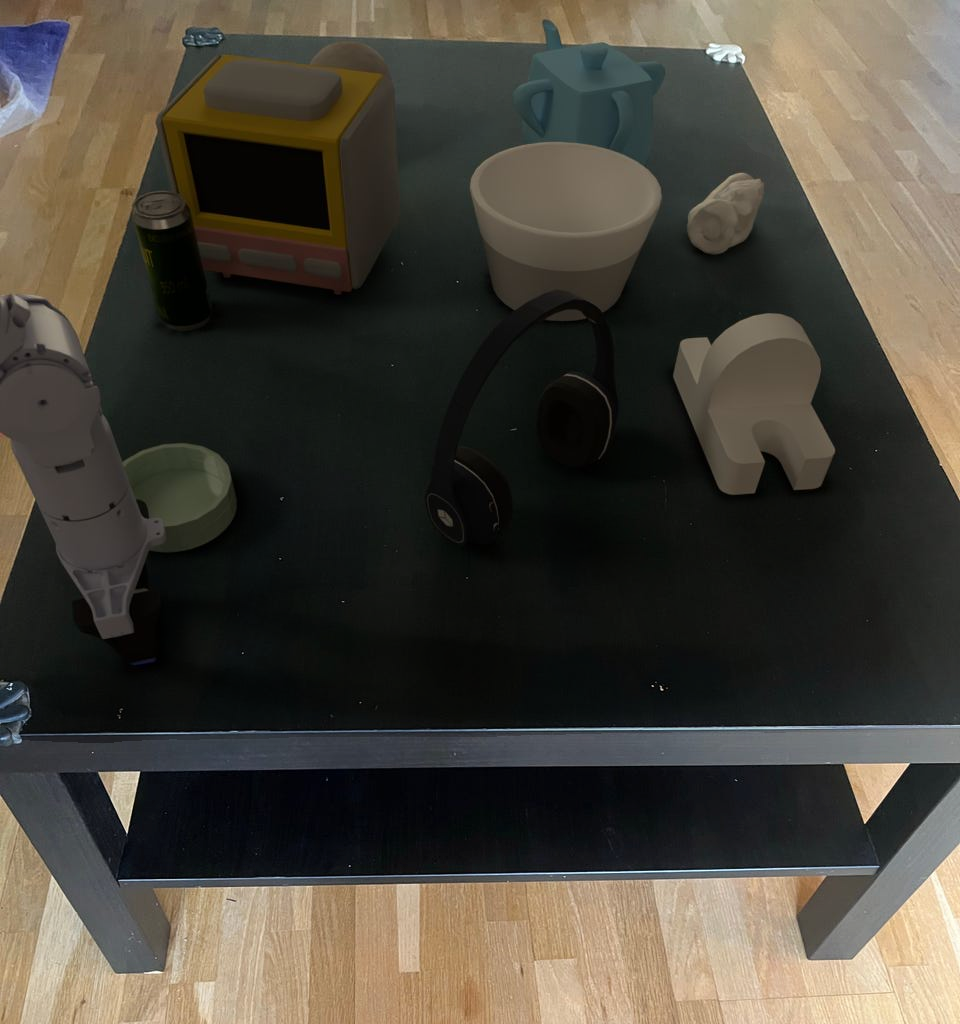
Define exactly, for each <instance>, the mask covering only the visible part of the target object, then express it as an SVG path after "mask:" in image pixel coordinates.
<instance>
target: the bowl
mask: <svg viewBox="0 0 960 1024" xmlns="http://www.w3.org/2000/svg"><path fill="white" fill-rule="evenodd" d="M469 193H470V196H471V200H472V205H473V208H474V214H475V218H476V222H477V227H478V230H479V234H480V238H481V241H482V246H483V250H484V255H485V260H486V264H487V267H488V272H489V276H490V281H491V285H492V289H493V291H494V294H495V295H496V296H497V298H498V299H499V300H500V301H501V302H502V303H503V304H504V305H505V306H507V307H509V308H510V309H512V311H515V310H516V309H518V308H519V307H521V306H522V305H523V304H525V303H526V302H528V301H530V300H532V299H534V298H536V297H538V296H540V295H542V294H544V293H547V292H550V291H553V290H564V291H569V292H571V293H573V294H575V295H577V296H579V297H580V298H582V299H584V300H586V301H588V302H590V303H592V304H594V305H595V306H597V307H598V308H599V309H600V310H601V311H602V313H604V312H606V311H608V310H610V308H611V307H613V306H614V305H615V304H617V303H616V302H617V301H618V300H619V299H620V297H621V295H622V292H623V291H624V288H625V285H626V284H627V281H628V279H629V276H630V274H631V272H632V270H633V267H634V265H635V263H636V261H637V259H638V256H639V254H640V252H641V250H642V247H643V245H644V244H645V242H646V239H647V237H648V235H649V232H650V231H651V228H652V226H653V223H654V221H655V219H656V217H657V214H658V213H659V211H660V209H661V208H660V206H661V204H662V201H663V194H662V187H661V185H660V184H659V181H658V179H657V178H656V177H655V175H653V173H652V172H651V171H650V170H649V169H648V168H647V167H644V166H642V165H641V164H640V163H638V162H637V161H635V160H633V159H631V158H629V157H627V156H625V155H623V154H620V153H617V152H614V151H612V150H609V149H605V148H601V147H597V146H592V145H586V144H579V143H567V142H545V143H534V144H527V145H526V144H522V145H518V146H514V147H511V148H507V149H504V150H502V151H500V152H496V153H494V154H493V155H492V156H490V157H488V158H487V159H485V160H484V161H482V163H480V165H478V166H477V167H476V169H475V170H474V173H473V174H472V175H471V178H470V182H469ZM585 319H586V320H587V318H586V317H585V315H584V314H583V313H582V312H581V311H579V310H564V311H561V312H558V313H555V314H553V315H552V316H550V317H548V318H546V319H544V320H543V321H554V322H569V321H580V320H585Z"/></svg>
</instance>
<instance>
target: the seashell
mask: <svg viewBox="0 0 960 1024" xmlns="http://www.w3.org/2000/svg"><path fill="white" fill-rule="evenodd" d="M308 65H314V66H322V67H330V68H338V69H346V70H354V71H362V72H371V73H379V74H382V75H383V76H385V75H386V76H387V77H388V78H389V79H390V80H391V82H392V83H393V78H392V74H391V71H390V69H389V65H388V64H387V62H386V60H385V59H384V58H383V56H382V55H381V54H379V53H378V52H377V51H376V50H375V49H373V48H372V47H370V46H369V45H367V44H365V43H362V42H360V41H354V40H342V41H336V42H333V43H330V44H328V45H326V46H324V47H323V48H322V49H321V50H320V51H319V52H318V53H317V54H315V56H314V57H313V58H312V59H311V61H310V63H309V64H308Z"/></svg>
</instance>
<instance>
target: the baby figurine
mask: <svg viewBox="0 0 960 1024" xmlns="http://www.w3.org/2000/svg"><path fill="white" fill-rule="evenodd" d="M761 179H762V178H756V179H755V178H753V176H751V175H750V174H749V173H746V172H737V173H735V174H732V175H729V176H728V177H727V178H726V179H725V180H724V181H723V182H722V183H720V184H719V185H718V186H717V187H716V188H715V189H714V190H712V191H711V192H710V193H709V195H707V197H706V198H705V199H704V200H703V201H702V202H700V203H698V204H697V205H696V206H694V207H693V208H692V209H691V210H690V211H689V213H688V215H687V224H686V232H687V236H688V238H689V240H690V242H691V244H692V245H693V246H694V247H695V248H697V249H699V250H700V251H702V252H703V253H705V254H709V255H721V254H723V253H725V252H726V251H728V249H729V248H732V247H734V246H736V245H737V246H738V244H741V243H744V242H745V241H746V240H747V239H748V237H749V236H750V233H751V232H752V230H753V228H754V223H755V221H756V218H757V216H758V211H759V209H760V206H761V203H762V201H763V198H764V194H765V190H764V188H765V183H764V182H763V181H762V180H761Z"/></svg>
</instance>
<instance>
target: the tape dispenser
mask: <svg viewBox="0 0 960 1024" xmlns="http://www.w3.org/2000/svg"><path fill="white" fill-rule="evenodd" d="M821 372H822V365H821V358H820V357H819V355H818V353H817V351H816V349H815V347H814V346H813V344H812V342H811V341H810V338H809V337H808V335H807V334H806V332H805V330H804V328H803V327H802V325H801V324H800V323H799V322H798V321H797V320H795V319H794V318H793V317H791V316H787V315H785V314H782V313H772V312H771V313H770V312H767V313H762V314H761V313H760V314H755V315H751V316H749V317H747V318H744V319H741V320H739V321H738V322H736V323H734V324H732V325H731V326H729V327H728V328H727V329H725V330H723V332H722V333H721V334H720V335H719V336H718V337H716V339H715V340H714V341H713V342H712V343H711V342H710V340H709V338H708V337H707V336H705V337H690V338H689V337H687V338H685V339H683V340H680V343H679V346H678V351H677V356H676V361H675V365H674V369H673V374H672V377H673V380H674V383H675V385H676V387H677V390H678V393H679V395H680V397H681V400H682V402H683V404H684V407H685V409H686V410H685V411H686V412H687V414H688V417H689V419H690V421H691V424H692V427H693V429H694V431H695V434H696V437H697V438H698V441H699V445H700V446H701V449H702V452H703V454H704V456H705V459H706V461H707V463H708V466H709V468H710V471H711V473H712V475H713V477H714V480H715V483H716V485H717V487H718V489H719V490H720V491H721V492H723V493H725V494H727V495H732V496H734V495H735V496H736V495H737V496H738V495H748V494H750V495H751V494H755V493H756V491H757V488H758V485H759V482H760V480H761V479H760V478H761V476H762V472H763V470H764V467H765V464H766V461H765V459H764V456H763V454H762V453H763V452H764V453H767V454H769V455H772V456H774V457H775V458H776V459H777V460H778V462H779V463H780V464H781V467H782V469H783V471H784V472H785V474H786V477H787V479H788V481H789V483H790V485H791V487H792V489H793V491H800V490H801V491H802V490H814V489H818V488H821V486H822V485H823V483H824V480H825V477H826V476H827V472H828V470H829V467H830V465H831V462H832V460H833V458H834V455H835V454H836V448H835V446H834V444H833V442H832V441H831V439H830V437H829V435H828V433H827V431H826V430H825V427H824V425H823V424H822V422H821V420H820V418H819V416H818V414H817V413H816V411H815V409H814V407H813V405H812V401H813V398H814V396H815V393H816V390H817V387H818V384H819V381H820V378H821Z"/></svg>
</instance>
